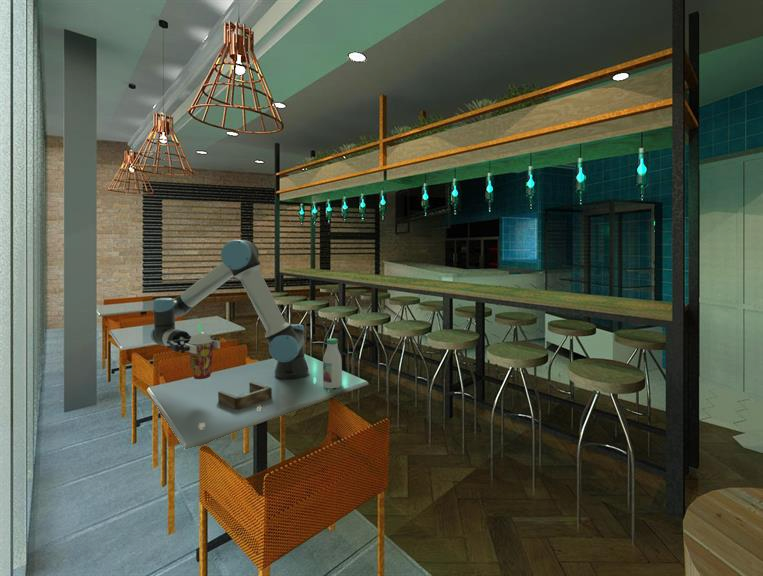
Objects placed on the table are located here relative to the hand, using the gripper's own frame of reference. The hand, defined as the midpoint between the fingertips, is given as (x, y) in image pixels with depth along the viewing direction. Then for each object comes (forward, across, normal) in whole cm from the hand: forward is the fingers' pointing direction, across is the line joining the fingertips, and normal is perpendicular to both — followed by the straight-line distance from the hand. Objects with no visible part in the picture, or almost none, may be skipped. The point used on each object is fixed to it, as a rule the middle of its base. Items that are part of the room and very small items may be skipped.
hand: (207, 347), depth 150 cm
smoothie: (-5, 0, -12) cm, 13 cm away
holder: (+6, -10, -21) cm, 24 cm away
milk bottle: (+22, -42, -22) cm, 52 cm away
